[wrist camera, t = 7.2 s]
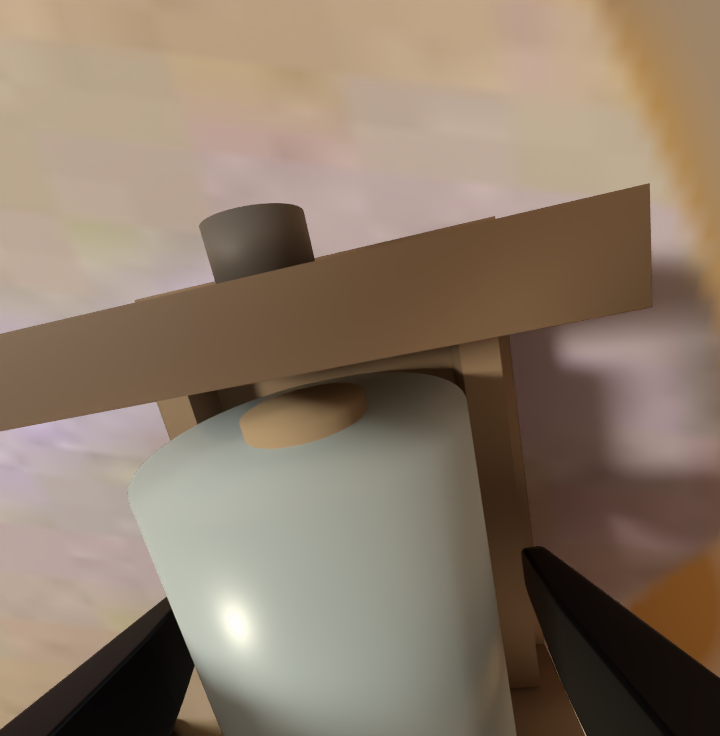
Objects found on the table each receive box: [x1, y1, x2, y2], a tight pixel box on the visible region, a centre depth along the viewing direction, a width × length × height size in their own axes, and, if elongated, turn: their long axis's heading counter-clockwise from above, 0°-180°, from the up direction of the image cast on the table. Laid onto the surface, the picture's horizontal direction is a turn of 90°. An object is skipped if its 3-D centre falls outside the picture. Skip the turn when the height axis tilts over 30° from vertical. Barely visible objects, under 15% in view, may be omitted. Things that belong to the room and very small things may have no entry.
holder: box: [0, 183, 652, 736], centre depth 8 cm, size 15×9×6 cm, turn 12°
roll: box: [127, 372, 517, 736], centre depth 7 cm, size 9×6×6 cm, turn 12°
